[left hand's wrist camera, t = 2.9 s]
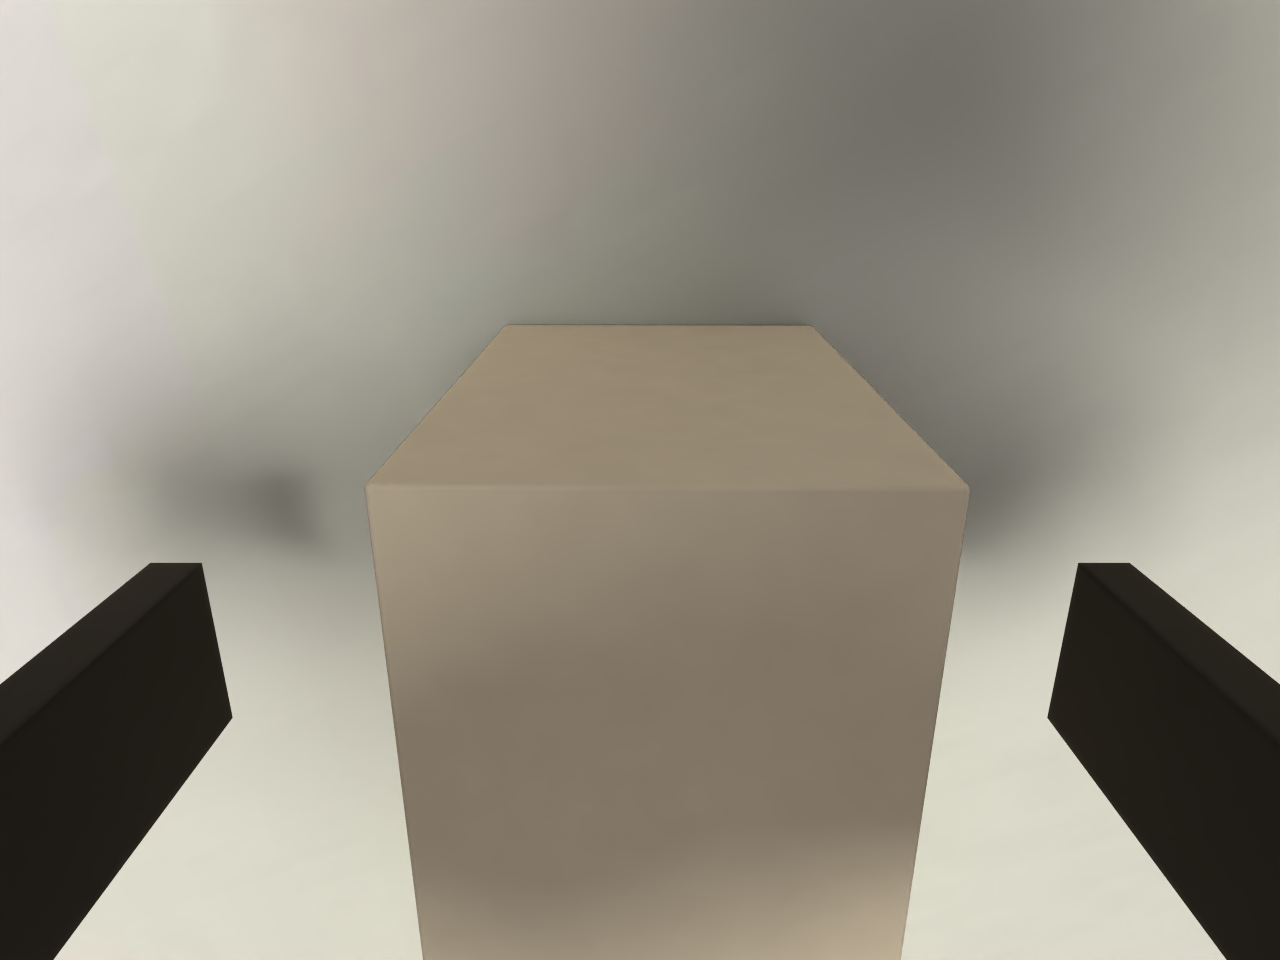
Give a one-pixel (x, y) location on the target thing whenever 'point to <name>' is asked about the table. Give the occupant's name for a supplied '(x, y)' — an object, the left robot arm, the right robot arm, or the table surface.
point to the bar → (664, 647)
